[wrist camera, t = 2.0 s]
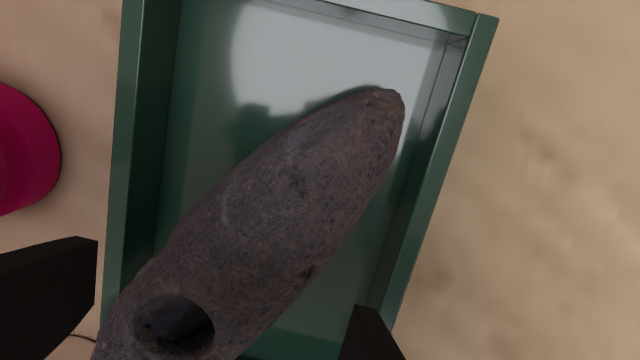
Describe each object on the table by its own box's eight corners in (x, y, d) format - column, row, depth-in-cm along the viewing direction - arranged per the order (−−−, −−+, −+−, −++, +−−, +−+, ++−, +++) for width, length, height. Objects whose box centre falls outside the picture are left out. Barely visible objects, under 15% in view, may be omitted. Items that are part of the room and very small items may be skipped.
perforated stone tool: (349, 47, 15) (352, 23, 8) (433, 137, 16) (498, 181, 9) (138, 268, 19) (23, 376, 12) (215, 333, 19) (147, 467, 13)
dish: (469, 29, 15) (501, 17, 12) (352, 388, 20) (353, 443, 17) (171, -43, 15) (127, -74, 12) (133, 334, 20) (95, 380, 17)
